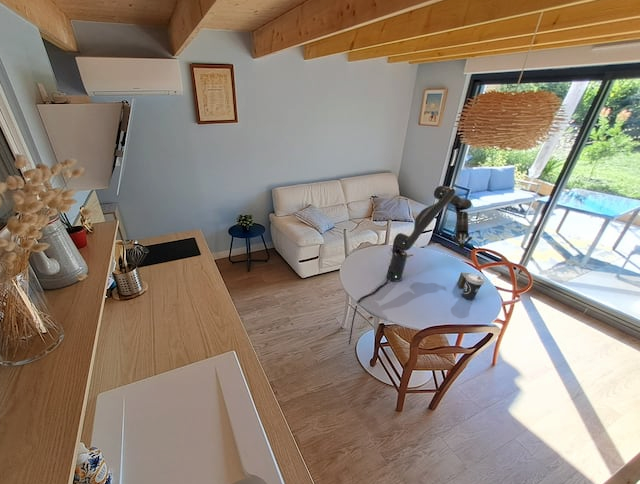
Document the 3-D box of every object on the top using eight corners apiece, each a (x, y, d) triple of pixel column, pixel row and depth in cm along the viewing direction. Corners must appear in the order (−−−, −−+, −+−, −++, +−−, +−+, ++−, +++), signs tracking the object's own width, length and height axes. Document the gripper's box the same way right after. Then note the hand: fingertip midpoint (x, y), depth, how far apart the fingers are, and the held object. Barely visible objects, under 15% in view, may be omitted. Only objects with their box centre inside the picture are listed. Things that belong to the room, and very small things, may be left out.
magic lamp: (412, 264, 215) (415, 252, 209) (387, 262, 218) (390, 249, 213) (410, 260, 221) (414, 247, 215) (386, 257, 224) (389, 245, 219)
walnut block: (457, 283, 194) (461, 272, 189) (466, 284, 192) (471, 273, 188) (459, 288, 189) (463, 277, 184) (469, 289, 187) (474, 278, 183)
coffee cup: (470, 303, 175) (478, 283, 168) (456, 294, 183) (463, 275, 175) (479, 298, 179) (488, 279, 172) (465, 290, 186) (472, 271, 179)
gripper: (453, 223, 200) (452, 246, 196) (474, 225, 197) (474, 248, 193) (449, 227, 207) (448, 249, 203) (470, 229, 204) (469, 251, 200)
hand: (461, 249), depth 198 cm, fingers closed
